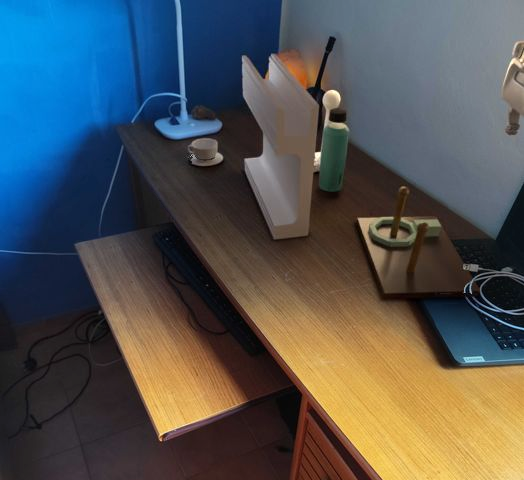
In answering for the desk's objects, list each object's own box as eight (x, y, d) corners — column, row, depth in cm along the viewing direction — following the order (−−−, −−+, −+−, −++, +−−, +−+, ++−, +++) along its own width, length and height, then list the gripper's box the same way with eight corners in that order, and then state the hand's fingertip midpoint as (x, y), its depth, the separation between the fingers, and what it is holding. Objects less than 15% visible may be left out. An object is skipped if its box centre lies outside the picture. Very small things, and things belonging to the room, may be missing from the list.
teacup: (226, 153, 137) (225, 137, 134) (219, 168, 130) (218, 152, 127) (193, 151, 138) (191, 135, 135) (184, 166, 131) (182, 149, 128)
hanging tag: (429, 220, 109) (432, 210, 107) (443, 245, 102) (447, 235, 100) (365, 221, 108) (367, 212, 107) (375, 247, 101) (377, 237, 99)
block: (307, 235, 107) (319, 105, 87) (273, 239, 106) (277, 108, 86) (272, 168, 131) (275, 53, 110) (244, 171, 129) (241, 55, 109)
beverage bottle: (339, 199, 119) (350, 116, 104) (314, 195, 120) (321, 113, 106) (344, 187, 123) (355, 106, 109) (319, 183, 124) (327, 103, 110)
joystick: (339, 176, 128) (349, 97, 113) (313, 179, 126) (320, 99, 112) (324, 159, 135) (332, 82, 121) (299, 161, 134) (305, 85, 119)
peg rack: (434, 221, 111) (450, 170, 102) (477, 296, 92) (501, 242, 83) (356, 223, 111) (364, 172, 102) (383, 299, 91) (396, 244, 82)
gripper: (612, 77, 68) (566, 169, 78) (545, 40, 82) (514, 122, 92) (570, 77, 67) (529, 170, 77) (510, 40, 81) (483, 123, 91)
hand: (521, 144), depth 85 cm, fingers open, 8 cm apart
